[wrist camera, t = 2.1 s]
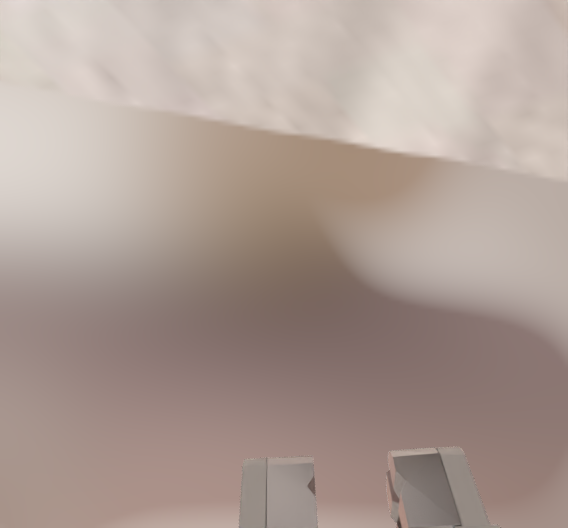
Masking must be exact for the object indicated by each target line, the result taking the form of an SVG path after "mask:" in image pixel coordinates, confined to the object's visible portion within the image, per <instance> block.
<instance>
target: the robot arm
mask: <svg viewBox="0 0 568 528" xmlns="http://www.w3.org/2000/svg"><path fill="white" fill-rule="evenodd" d="M388 464H389V469H390V470H389V471H388V472H387V475H386V487H387V498H388V505H389V510H390V516H391V518H392V519H393V520H394V521H395V522H396V523H397V524H396V528H501V527H500V526H499V525H498V524H497V525H496V524H494V525H493V524H490V522H489V519H488V516H487V514H486V511H485V508H484V506H483V503H482V500H481V497H480V495H479V492H478V489H477V487H476V484H475V481H474V478H473V475H472V473H471V470H470V467H469V464H468V462H467V459H466V456H465V454H464V452H463V451H462V449H461V448H460V447H444V448H423V449H410V450H396V451H390V452H389V453H388ZM315 496H316V495H315V478H314V464H313V456H298V457H279V458H256V459H255V458H254V459H244V463H243V467H242V482H241V500H240V516H239V528H318V520H317V506H316V497H315Z"/></svg>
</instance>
